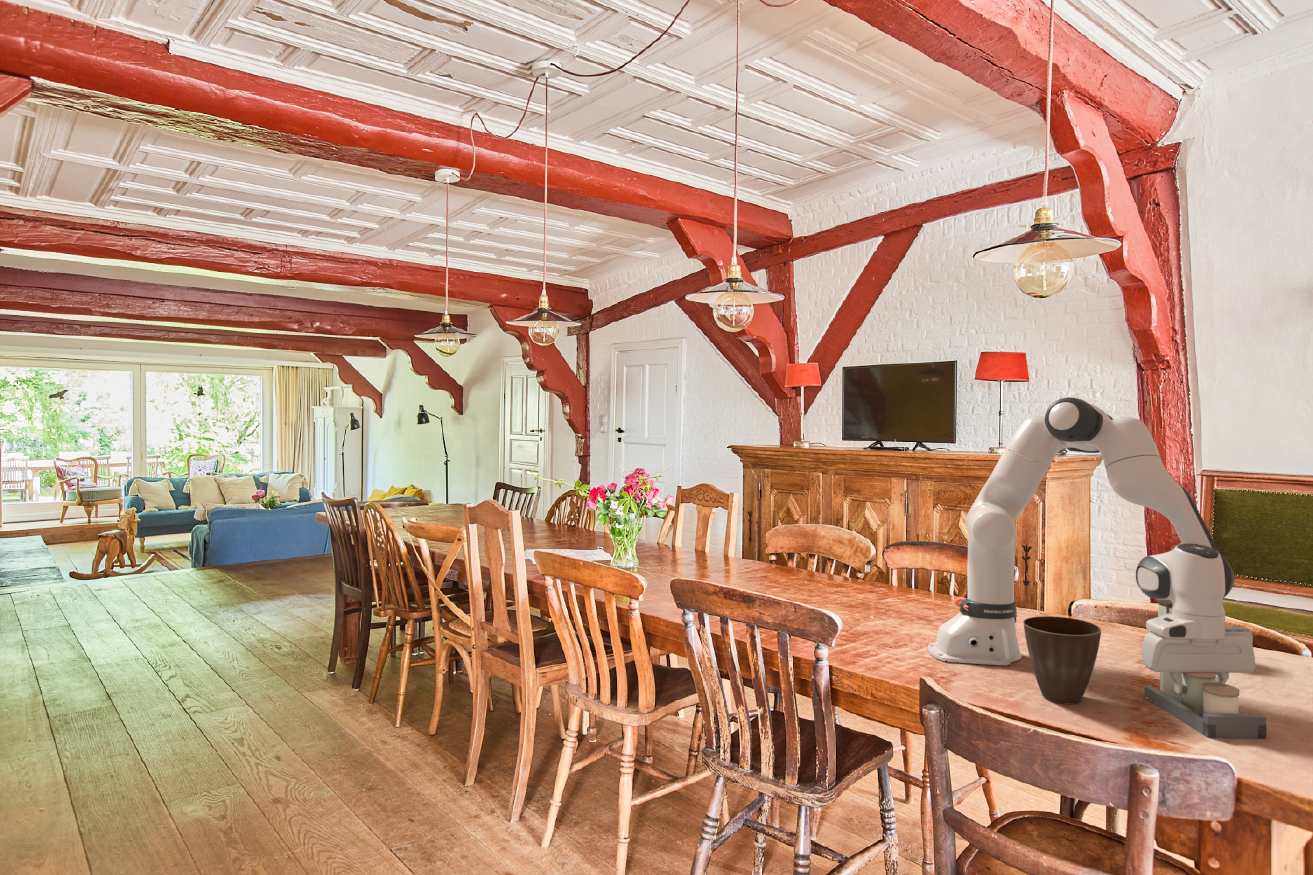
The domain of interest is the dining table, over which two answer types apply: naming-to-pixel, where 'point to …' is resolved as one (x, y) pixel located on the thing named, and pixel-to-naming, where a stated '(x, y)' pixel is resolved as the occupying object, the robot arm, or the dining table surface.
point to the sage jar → (1195, 689)
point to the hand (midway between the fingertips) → (1198, 692)
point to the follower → (1169, 686)
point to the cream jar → (1220, 698)
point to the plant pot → (1062, 655)
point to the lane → (1211, 719)
